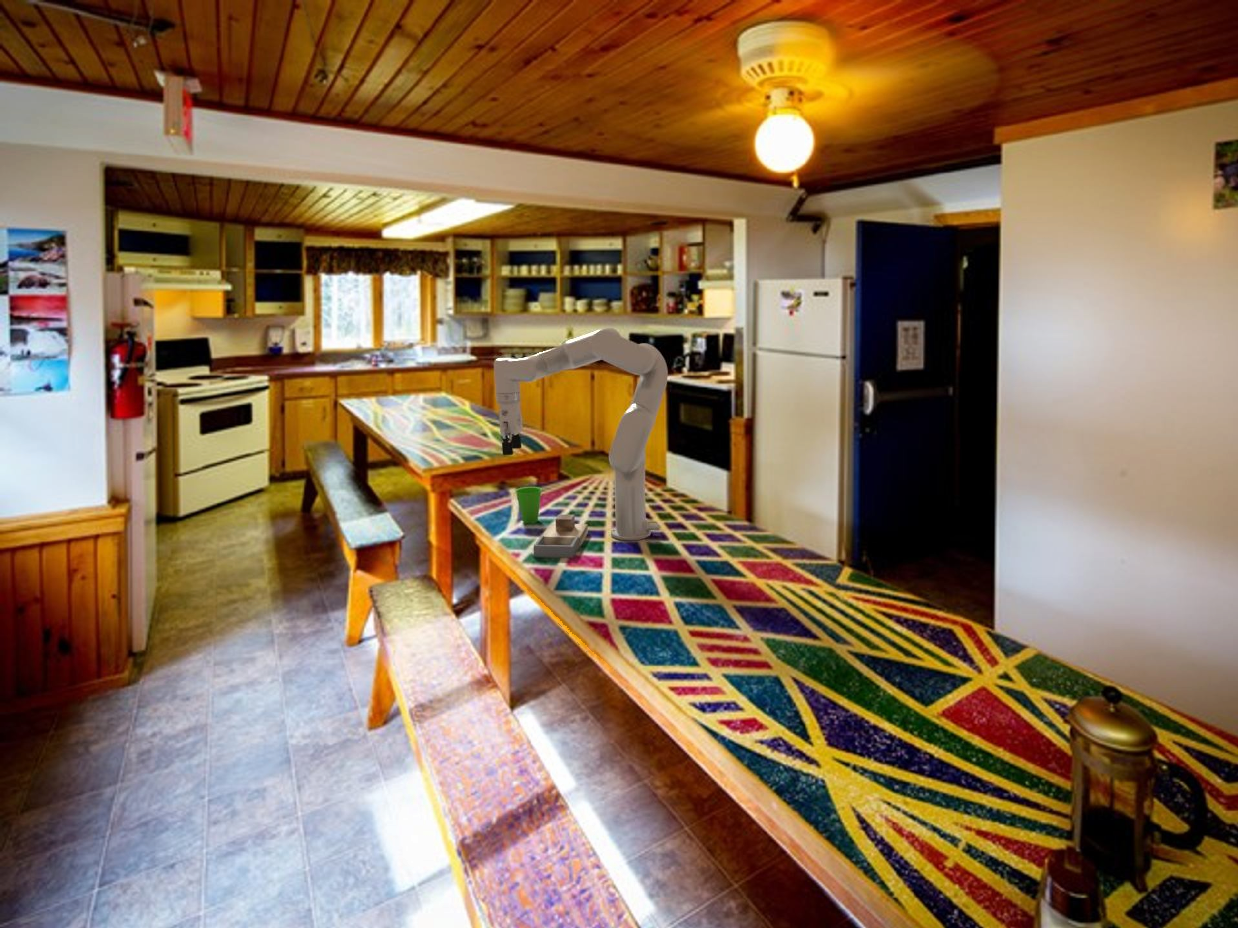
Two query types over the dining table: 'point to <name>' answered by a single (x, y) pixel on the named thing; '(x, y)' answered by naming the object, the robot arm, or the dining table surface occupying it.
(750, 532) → the dining table surface
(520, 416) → the robot arm
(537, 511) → the cup
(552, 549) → the bin
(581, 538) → the board
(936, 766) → the dining table surface
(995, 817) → the dining table surface
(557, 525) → the block
